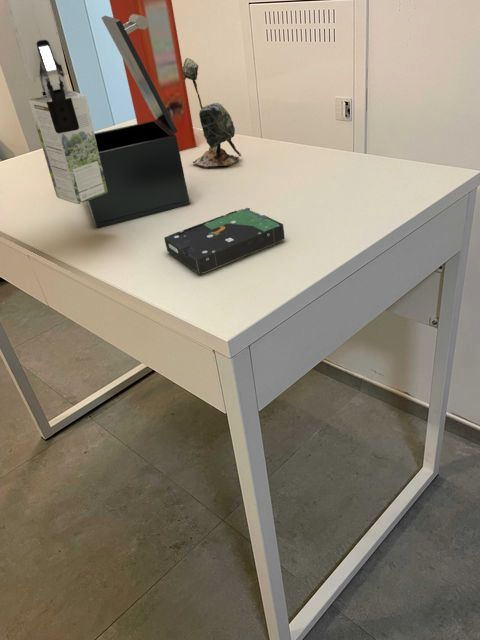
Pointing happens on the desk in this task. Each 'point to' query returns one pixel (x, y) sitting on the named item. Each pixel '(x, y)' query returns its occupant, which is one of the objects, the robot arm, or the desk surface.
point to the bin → (138, 173)
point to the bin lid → (138, 64)
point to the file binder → (158, 63)
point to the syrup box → (70, 152)
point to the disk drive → (224, 239)
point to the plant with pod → (212, 126)
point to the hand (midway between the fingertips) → (64, 124)
